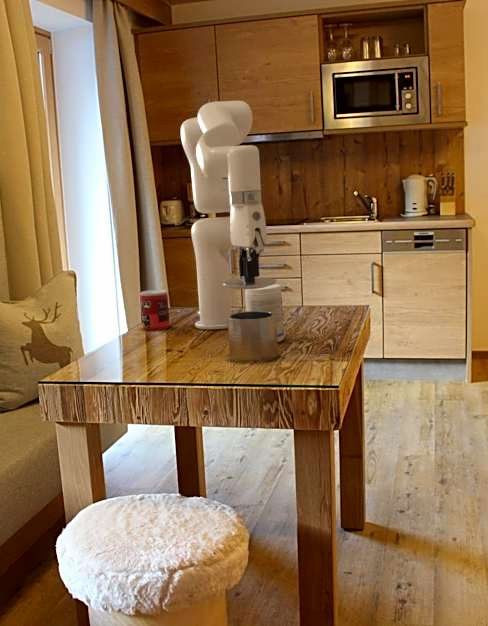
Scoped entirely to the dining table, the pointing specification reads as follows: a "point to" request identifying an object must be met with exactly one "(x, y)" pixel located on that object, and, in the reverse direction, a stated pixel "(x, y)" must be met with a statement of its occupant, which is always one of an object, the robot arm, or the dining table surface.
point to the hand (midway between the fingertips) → (249, 275)
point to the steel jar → (252, 336)
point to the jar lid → (249, 281)
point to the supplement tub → (267, 304)
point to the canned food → (155, 309)
